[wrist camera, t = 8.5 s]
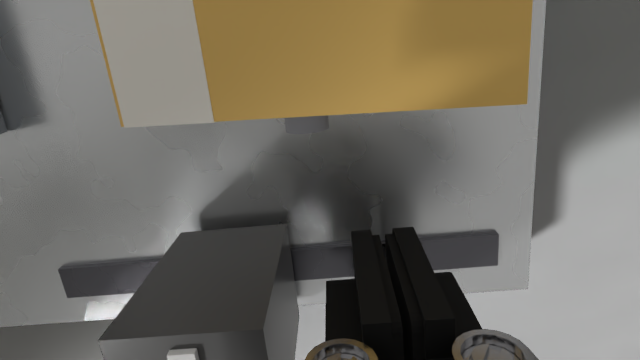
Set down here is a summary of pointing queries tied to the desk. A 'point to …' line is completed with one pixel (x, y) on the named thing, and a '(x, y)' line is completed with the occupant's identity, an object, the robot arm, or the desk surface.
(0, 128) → the slate rocker
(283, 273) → the slider knob
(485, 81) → the amber rocker
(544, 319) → the desk surface
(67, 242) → the panel
